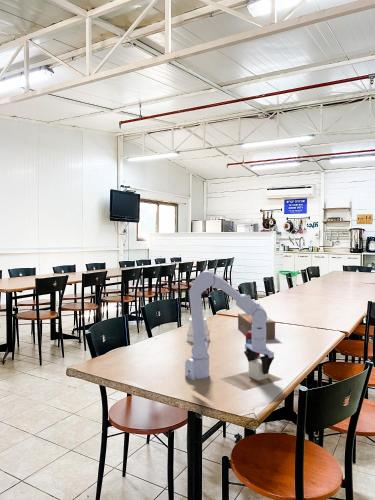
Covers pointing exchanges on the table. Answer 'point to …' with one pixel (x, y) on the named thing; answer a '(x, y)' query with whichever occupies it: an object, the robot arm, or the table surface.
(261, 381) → the board
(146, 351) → the table surface
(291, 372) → the table surface
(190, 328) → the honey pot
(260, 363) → the plaster cube
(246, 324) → the tissue box cover
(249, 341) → the beverage can
